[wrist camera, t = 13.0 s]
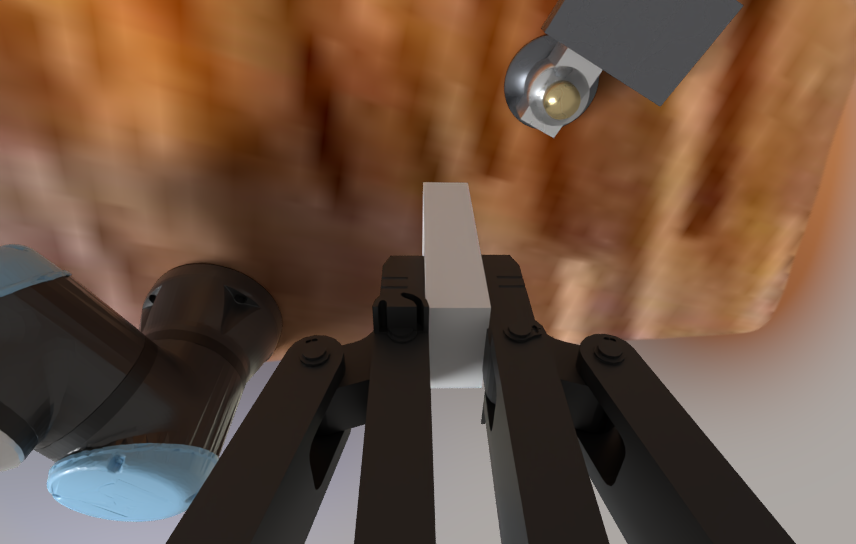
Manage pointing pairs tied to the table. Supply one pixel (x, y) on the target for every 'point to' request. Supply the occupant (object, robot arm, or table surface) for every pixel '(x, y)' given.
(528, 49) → the keeper bracket
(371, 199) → the table surface
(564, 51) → the link
